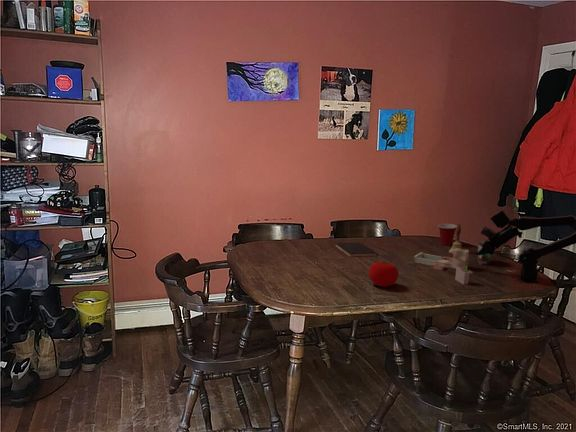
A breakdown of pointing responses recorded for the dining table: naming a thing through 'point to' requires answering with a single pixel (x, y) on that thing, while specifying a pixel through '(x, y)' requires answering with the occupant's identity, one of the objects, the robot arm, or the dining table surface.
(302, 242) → the dining table surface
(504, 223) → the robot arm
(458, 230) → the hand bell
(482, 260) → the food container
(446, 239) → the plastic cup
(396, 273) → the tomato
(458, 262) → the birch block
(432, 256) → the channel
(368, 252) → the hardcover book
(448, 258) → the trap bays
